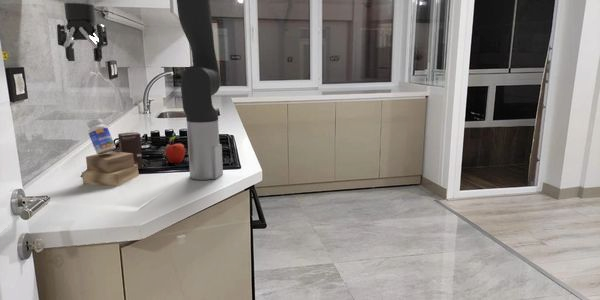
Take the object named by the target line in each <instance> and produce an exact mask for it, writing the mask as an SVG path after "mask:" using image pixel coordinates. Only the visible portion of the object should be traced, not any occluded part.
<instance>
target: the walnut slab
mask: <svg viewBox="0 0 600 300" xmlns="http://www.w3.org/2000/svg"><path fill="white" fill-rule="evenodd" d="M85 160H86V161H85V162H86V171H87V170H89V171H96V172H102V173H109V174H110V173H113V172H117V171H120V170H124V169H127V168H131V167H134V157H133V153H125V152H120V151H116V150H112V151H110V152H107V153H104V154H97V153H95V154H92V155H87V156H85Z"/></svg>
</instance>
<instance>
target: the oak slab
mask: <svg viewBox="0 0 600 300" xmlns="http://www.w3.org/2000/svg"><path fill="white" fill-rule="evenodd" d="M139 171H140V170H138V165H137V164H134V167H131V168H127V169H124V170H120V171H117V172H113V173H110V174H109V173H102V172H96V171H89V170H87V169H86V170H85V171H83V172H81V178H82V184H83V185H88V186H89V185H91V186H114V187H119V186H121V185H124V184H125V183H127V182H129V181H131V180H133V179H135V178H137V177H138V176H140V173H139Z"/></svg>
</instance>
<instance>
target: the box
mask: <svg viewBox="0 0 600 300" xmlns="http://www.w3.org/2000/svg"><path fill="white" fill-rule="evenodd" d="M117 136H118V145H119V146H118V148H119V152H125V153H133V157H134V164H137V165H138V169H141V168H142V169H143V156H142V144H141V143H142V142H141V141H142V140H141V138H142V137H141V134H140V133H139V132H137V131H136V132H124V133H123V132H122V133H121V132H119V133H118V134H117Z"/></svg>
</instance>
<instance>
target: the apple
mask: <svg viewBox="0 0 600 300" xmlns="http://www.w3.org/2000/svg"><path fill="white" fill-rule="evenodd" d="M175 139H176V135H174V136H173V137H170V138H169V140H171V141H172V144H169V145H166V147H165V150H164V152H165V156H166V158H167V160H168V162H169V163H170V164H181V163H182V161H183V160H184V158H185V155H186V152H187V151H186V147H185V145H184V144H183V143H175Z"/></svg>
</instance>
